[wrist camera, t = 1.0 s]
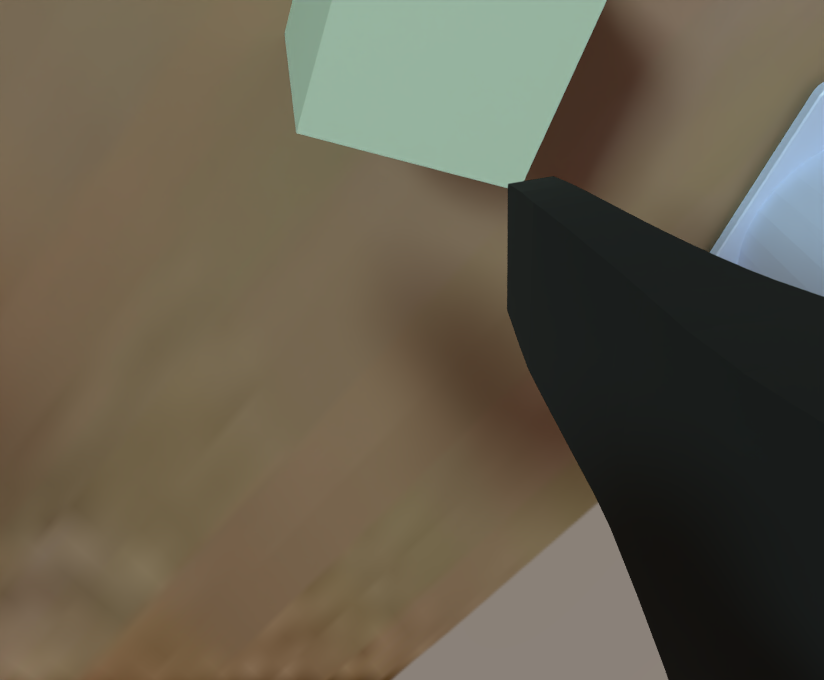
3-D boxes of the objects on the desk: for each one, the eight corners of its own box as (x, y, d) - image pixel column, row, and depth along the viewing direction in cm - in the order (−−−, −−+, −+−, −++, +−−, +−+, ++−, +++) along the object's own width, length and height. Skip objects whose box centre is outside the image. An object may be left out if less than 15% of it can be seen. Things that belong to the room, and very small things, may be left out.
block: (526, -104, 17) (628, -48, 13) (455, 85, 20) (519, 191, 15) (336, -181, 16) (372, -150, 11) (284, 33, 18) (296, 133, 14)
